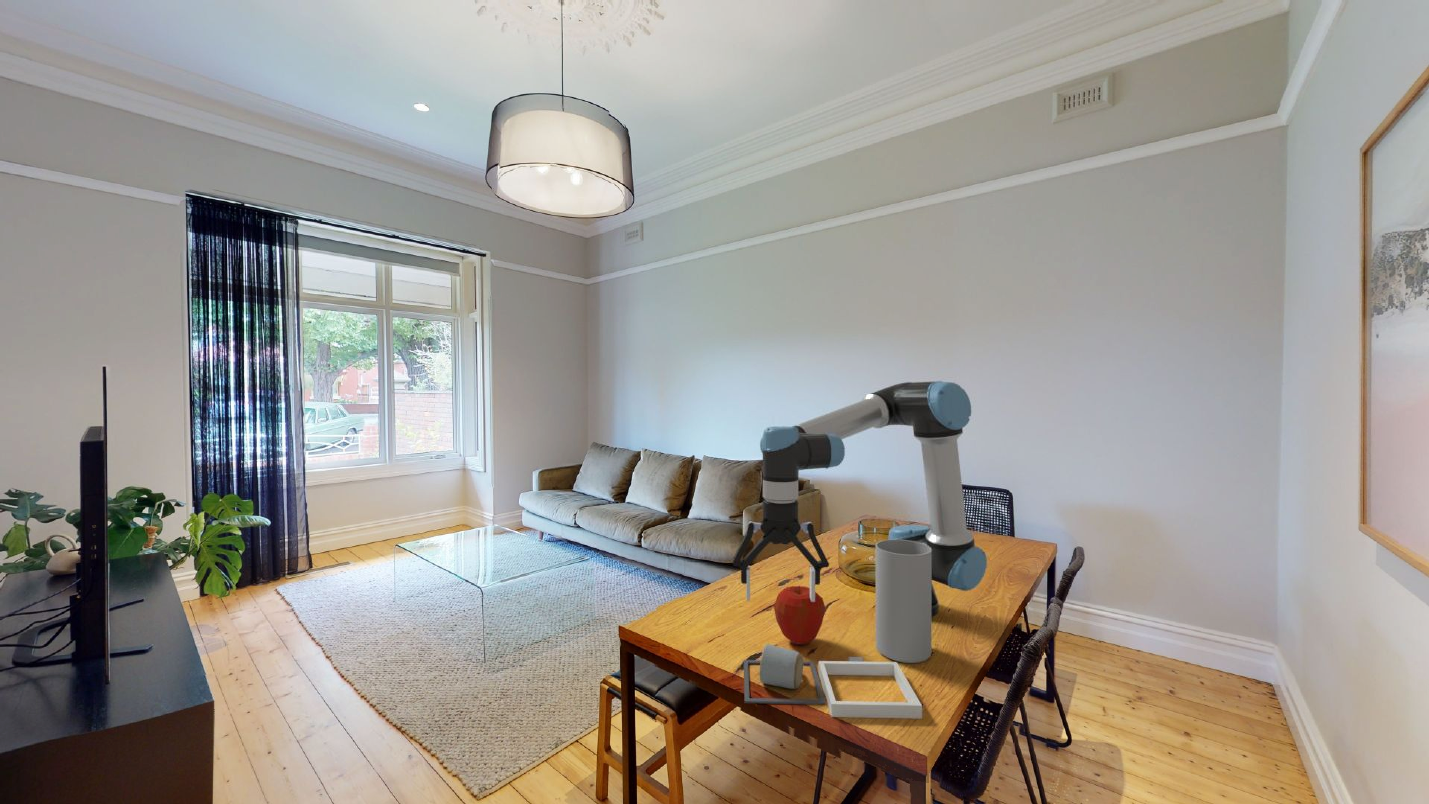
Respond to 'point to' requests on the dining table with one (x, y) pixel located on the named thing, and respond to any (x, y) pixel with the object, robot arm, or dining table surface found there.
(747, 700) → the tray outline
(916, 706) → the socket
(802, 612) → the apple
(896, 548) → the cylinder vase
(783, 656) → the ceramic mug
